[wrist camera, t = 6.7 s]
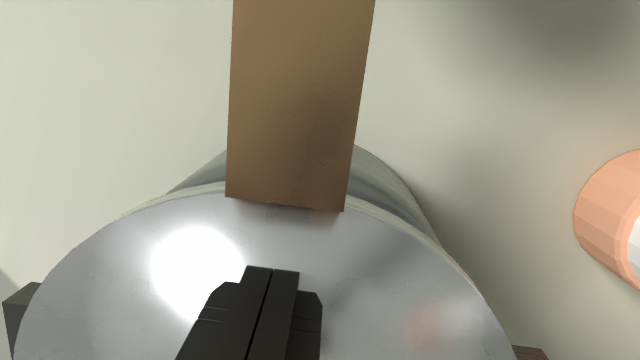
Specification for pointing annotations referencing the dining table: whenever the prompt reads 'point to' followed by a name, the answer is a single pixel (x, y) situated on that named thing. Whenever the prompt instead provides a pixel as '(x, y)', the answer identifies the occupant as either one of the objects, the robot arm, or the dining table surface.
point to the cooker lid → (270, 222)
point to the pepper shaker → (612, 217)
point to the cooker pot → (364, 183)
